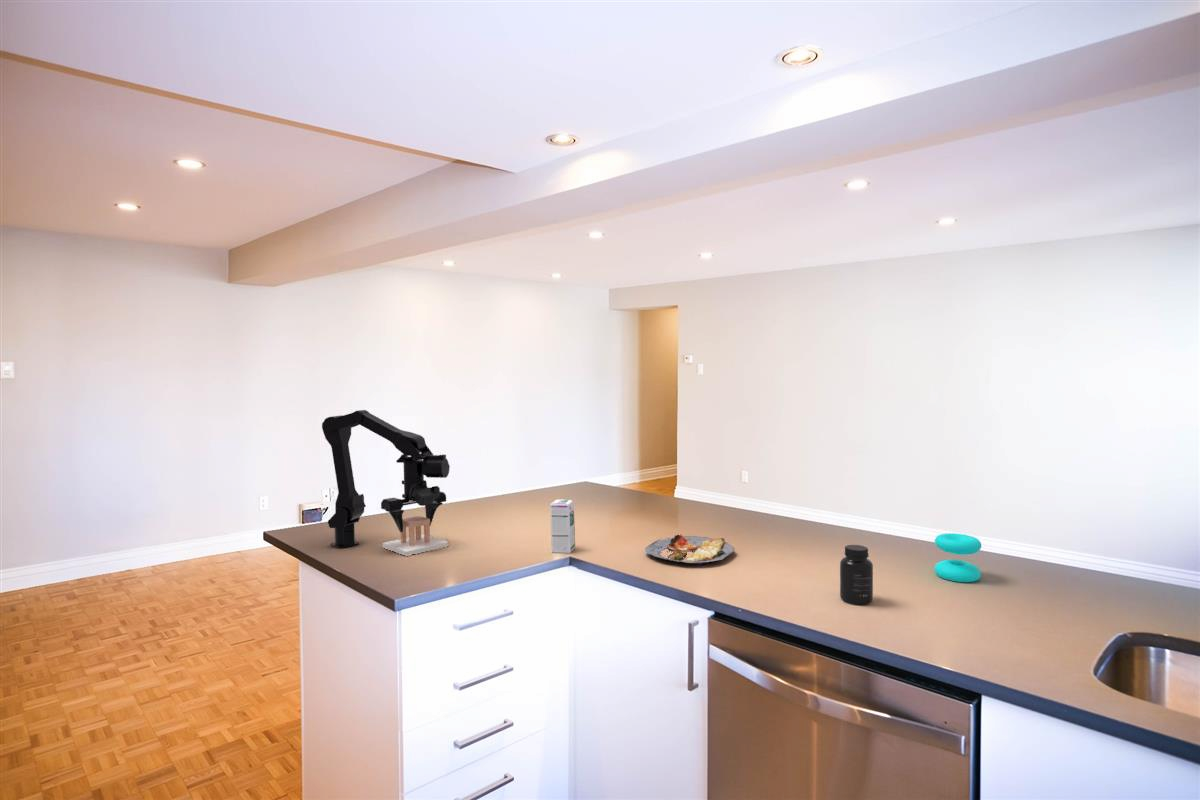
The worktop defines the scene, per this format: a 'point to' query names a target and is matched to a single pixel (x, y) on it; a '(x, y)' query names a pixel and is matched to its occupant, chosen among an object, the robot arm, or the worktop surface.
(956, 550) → the donuts
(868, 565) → the supplement bottle
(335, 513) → the robot arm
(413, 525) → the stool
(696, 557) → the food plate
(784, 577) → the worktop surface
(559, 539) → the syrup box
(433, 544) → the white board
